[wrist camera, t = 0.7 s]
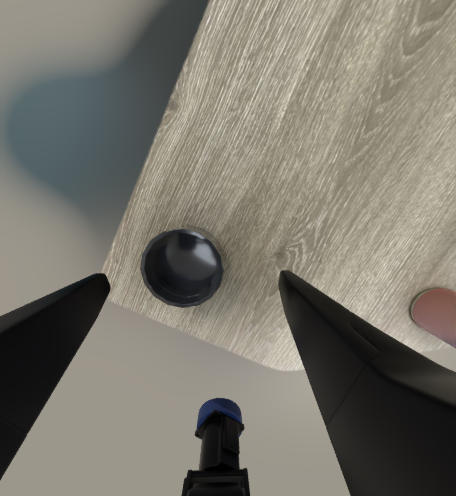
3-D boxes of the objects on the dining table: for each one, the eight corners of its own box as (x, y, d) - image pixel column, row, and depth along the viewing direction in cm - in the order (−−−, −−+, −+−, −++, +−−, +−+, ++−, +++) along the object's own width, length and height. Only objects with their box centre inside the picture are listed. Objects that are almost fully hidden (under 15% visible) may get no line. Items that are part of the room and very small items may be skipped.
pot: (199, 302, 23) (194, 321, 19) (143, 267, 22) (126, 279, 18) (236, 251, 22) (238, 260, 18) (179, 212, 21) (168, 212, 17)
